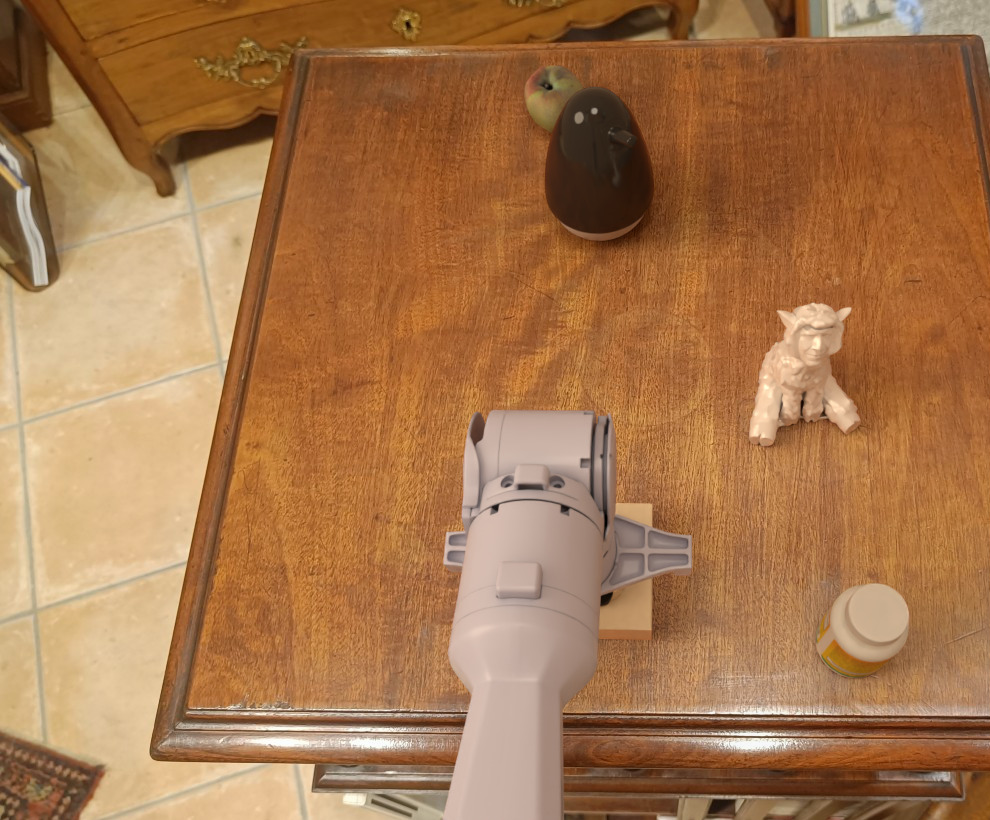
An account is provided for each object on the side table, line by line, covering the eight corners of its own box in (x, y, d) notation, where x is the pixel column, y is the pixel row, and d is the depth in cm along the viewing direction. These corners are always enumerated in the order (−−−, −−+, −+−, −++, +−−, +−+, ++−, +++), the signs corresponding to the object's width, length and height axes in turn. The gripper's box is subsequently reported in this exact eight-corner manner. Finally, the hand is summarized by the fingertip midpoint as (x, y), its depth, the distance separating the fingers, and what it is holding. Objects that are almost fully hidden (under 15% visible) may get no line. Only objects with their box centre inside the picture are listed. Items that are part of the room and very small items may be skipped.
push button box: (651, 640, 71) (652, 624, 66) (522, 637, 71) (513, 621, 67) (652, 517, 75) (652, 494, 71) (530, 515, 76) (523, 492, 71)
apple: (590, 89, 97) (586, 44, 92) (583, 146, 94) (579, 103, 88) (533, 87, 98) (527, 43, 92) (524, 145, 94) (517, 101, 89)
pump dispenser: (594, 277, 86) (584, 165, 73) (528, 211, 90) (507, 92, 77) (677, 220, 89) (682, 101, 75) (609, 158, 93) (602, 35, 79)
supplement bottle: (805, 617, 71) (826, 581, 62) (871, 602, 71) (902, 563, 63) (828, 688, 68) (853, 660, 60) (897, 671, 69) (932, 641, 60)
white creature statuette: (749, 452, 77) (766, 383, 67) (727, 364, 81) (739, 286, 71) (860, 434, 78) (893, 363, 67) (832, 348, 82) (860, 267, 71)
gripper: (694, 460, 51) (685, 527, 63) (435, 458, 52) (476, 525, 64) (696, 587, 48) (686, 631, 61) (422, 583, 49) (468, 627, 61)
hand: (578, 584), depth 62 cm, fingers closed
